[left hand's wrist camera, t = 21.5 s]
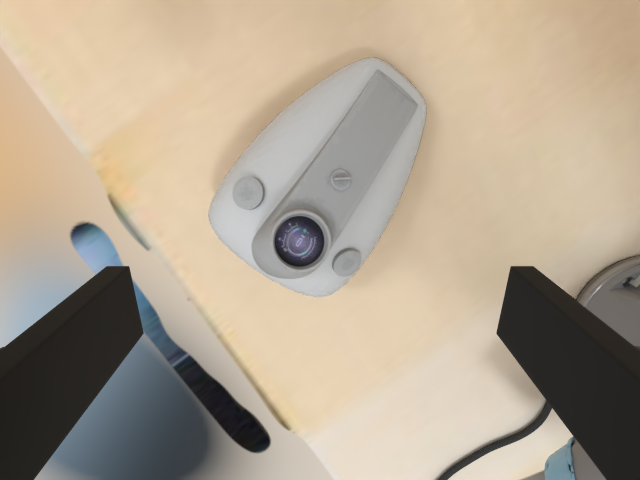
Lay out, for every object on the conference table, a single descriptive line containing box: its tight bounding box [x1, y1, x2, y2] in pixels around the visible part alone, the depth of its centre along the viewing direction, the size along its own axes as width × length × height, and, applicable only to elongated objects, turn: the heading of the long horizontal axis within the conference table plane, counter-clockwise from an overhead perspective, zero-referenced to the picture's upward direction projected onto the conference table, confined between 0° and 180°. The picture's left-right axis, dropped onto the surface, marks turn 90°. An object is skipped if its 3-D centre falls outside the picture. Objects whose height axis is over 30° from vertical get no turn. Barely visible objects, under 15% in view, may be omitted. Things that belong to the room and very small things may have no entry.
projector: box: [209, 57, 427, 297], centre depth 33 cm, size 22×23×15 cm
